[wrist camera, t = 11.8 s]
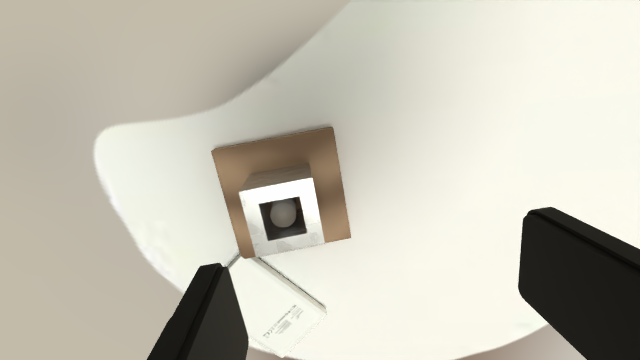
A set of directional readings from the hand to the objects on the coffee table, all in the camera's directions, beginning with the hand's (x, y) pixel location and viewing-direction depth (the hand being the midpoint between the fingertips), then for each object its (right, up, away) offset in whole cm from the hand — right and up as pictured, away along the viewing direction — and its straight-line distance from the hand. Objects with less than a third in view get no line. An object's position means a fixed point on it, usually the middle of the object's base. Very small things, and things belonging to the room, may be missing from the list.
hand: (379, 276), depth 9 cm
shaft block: (-6, +2, +22) cm, 23 cm away
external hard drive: (-8, -11, +26) cm, 30 cm away
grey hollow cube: (-5, +1, +21) cm, 22 cm away
